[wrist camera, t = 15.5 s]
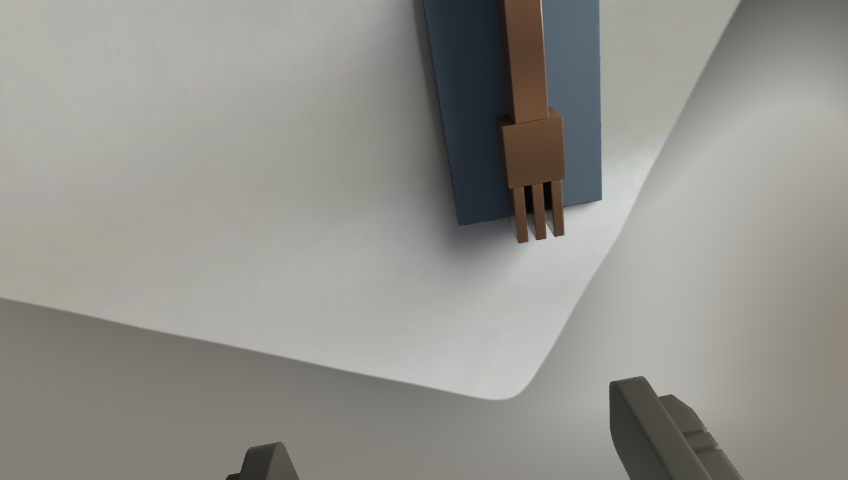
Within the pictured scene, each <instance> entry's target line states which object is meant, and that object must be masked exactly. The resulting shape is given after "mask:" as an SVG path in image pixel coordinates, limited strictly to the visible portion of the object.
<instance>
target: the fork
mask: <svg viewBox="0 0 848 480" xmlns="http://www.w3.org/2000/svg"><path fill="white" fill-rule="evenodd" d="M496 6H497V16H498V26H499V36H500V45H501V55H502V65H503V75H504V85H505V95H506V105H507V114H508V115H505V116H500V117H495V123H496V131H497V140H498V149H499V158H500V167H501V175H502V177H503V179H504V181H505V183H506V186H507V195H508V204H509V214H510V223H511V229H512V231H513V233H514V235H515V237H516V239H517V241H518V243H524V242H528V231H527V220H528V226H529V227H530V229H531V231H532V233H533V235H534V237H535V239H536V240H541V239H546V225H545V222H546V224H547V225H548V227H549V229H550V230H551V232H552V234H553V235H554V237H557V236H562V235H564V217H563V199H562V181H561V179H565V158H564V138H563V118H562V115H560V114H559V113H558V112H557V111H556V110H554V109H553V108H552V107H548V98H547V82H546V66H545V50H544V34H543V18H542V2H541V0H496ZM523 186H524V187H525V198H526V209H527V220H526V209H525V199H524V188H523Z"/></svg>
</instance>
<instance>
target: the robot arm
mask: <svg viewBox="0 0 848 480" xmlns="http://www.w3.org/2000/svg"><path fill="white" fill-rule="evenodd" d="M609 395H610V396H609V399H610V431H611V436H612V440H613V443H614V446H615V448H616V451H617V453H618V455H619V457H620V459H621V461H622V463H623V465H624V467H625V470H626V472H627V474H628V476H629V478H630V480H743V479H742V477H741V476H740V474H739V473H738V471H737V470H736V469H735V467H734V466H733V465H732V463H731V462H730V460H729V459H728V458H727V456H726V455H725V453H724V452H723V451H722V449H719V447H718V444H717V442H716V441H715V440H714V438H713V437H712V435H711V434H710V433H708V432H707V429H706V427H705V426H704V424H703V423H702V422H701V420H700V419H699V418H698V416H697V415H696V413H695V412H694V411H693V409H691V408H690V407H688V406H687V405H686V404H684V403H683V402H682V401H680V400H679V399H677V398H676V397H675V396H673V395H672V394H671V395H666V396H661V397H658V396H657V395H656V393H655V392H654V390H653V389H652V387H651V386H650V384H649V383H648V381H647V380H646V379H645V378H644V377H643V376H639V377H634V378H628V379H623V380H618V381H612V382H610V386H609ZM226 480H299V478H298V476H297V473H296V471H295V469H294V467H293V464H292V462H291V460H290V458H289V455H288V453H287V450H286V448H285V446H284V444H283V443H281V442H277V443H272V444H267V445H261V446H256V447H250V448H249V449H248V451H247V453H246V455H245V459H244V462H243V465H242V469H241V472H240V473H237V474H231V475H229V476H228V477H227V478H226Z"/></svg>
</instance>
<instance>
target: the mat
mask: <svg viewBox="0 0 848 480" xmlns="http://www.w3.org/2000/svg"><path fill="white" fill-rule="evenodd" d="M541 2H542V18H543V34H544V50H545V66H546V82H547V98H548V107H552V108H553V109H554V110H556V111H557V112H558V113H559V114H560V115H562V118H563V138H564V158H565V179H561V181H562V199H563V207H566V206H571V205H577V204H582V203H588V202H593V201H599V200H602V172H601V97H600V22H599V0H541ZM423 6H424V12H425V18H426V24H427V30H428V37H429V43H430V49H431V55H432V61H433V67H434V74H435V80H436V86H437V92H438V98H439V105H440V111H441V117H442V123H443V129H444V135H445V142H446V148H447V154H448V160H449V166H450V172H451V179H452V185H453V191H454V197H455V203H456V209H457V216H458V222H459V226H462V225H468V224H473V223H479V222H484V221H490V220H495V219H500V218H506V217H510V214H509V204H508V195H507V186H506V183H505V181H504V179H503V177H502V175H501V167H500V158H499V149H498V140H497V131H496V123H495V117H500V116H505V115H508V114H507V105H506V95H505V85H504V75H503V65H502V55H501V45H500V36H499V26H498V16H497V6H496V0H423ZM523 188H524V199H525V209H526V198H525V187H524V186H523ZM526 214H527V209H526Z"/></svg>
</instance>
